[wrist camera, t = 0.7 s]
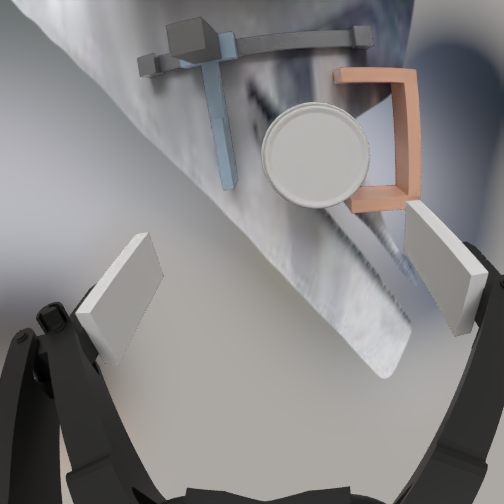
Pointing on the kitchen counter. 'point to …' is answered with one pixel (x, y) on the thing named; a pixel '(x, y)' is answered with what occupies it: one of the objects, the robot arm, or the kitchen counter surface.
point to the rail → (271, 46)
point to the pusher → (209, 80)
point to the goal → (405, 138)
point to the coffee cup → (315, 155)
